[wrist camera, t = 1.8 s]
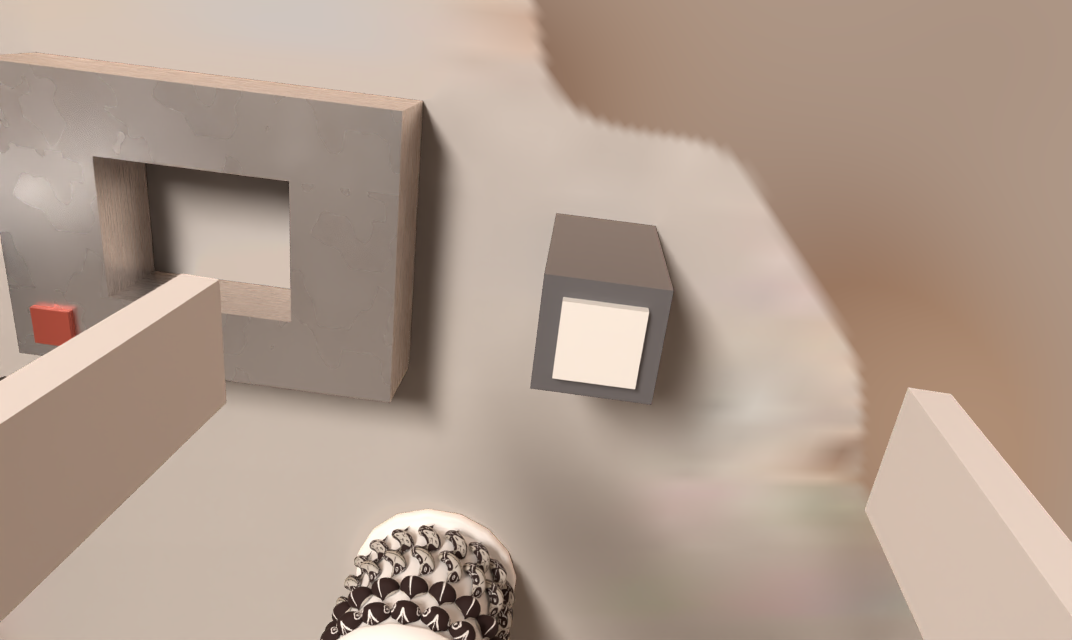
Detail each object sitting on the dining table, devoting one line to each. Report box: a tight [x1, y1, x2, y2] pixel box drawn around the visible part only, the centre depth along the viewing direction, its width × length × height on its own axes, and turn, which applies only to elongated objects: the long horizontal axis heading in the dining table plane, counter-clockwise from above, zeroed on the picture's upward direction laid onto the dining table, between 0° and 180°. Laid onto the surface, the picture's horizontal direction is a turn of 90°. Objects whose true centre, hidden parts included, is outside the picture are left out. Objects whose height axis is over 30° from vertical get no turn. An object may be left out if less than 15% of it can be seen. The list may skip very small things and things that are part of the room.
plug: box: [530, 213, 674, 405], centre depth 29 cm, size 4×4×8 cm
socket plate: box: [0, 52, 423, 403], centre depth 31 cm, size 12×16×4 cm
